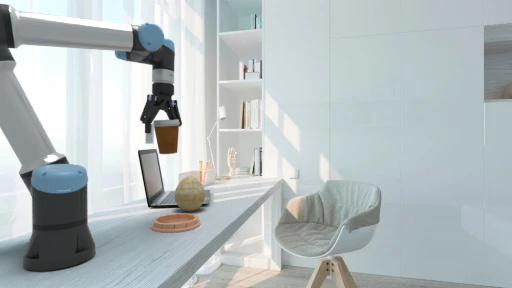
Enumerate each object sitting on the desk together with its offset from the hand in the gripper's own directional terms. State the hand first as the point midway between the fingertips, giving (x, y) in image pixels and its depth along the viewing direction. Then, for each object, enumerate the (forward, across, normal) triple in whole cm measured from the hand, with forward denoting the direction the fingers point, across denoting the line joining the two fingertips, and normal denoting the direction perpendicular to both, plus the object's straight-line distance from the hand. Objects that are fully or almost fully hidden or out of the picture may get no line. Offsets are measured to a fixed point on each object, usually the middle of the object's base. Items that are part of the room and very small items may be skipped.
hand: (162, 143), depth 105 cm
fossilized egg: (+29, +23, +3) cm, 37 cm away
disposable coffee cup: (+3, +3, 0) cm, 5 cm away
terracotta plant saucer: (+29, +2, -4) cm, 29 cm away
